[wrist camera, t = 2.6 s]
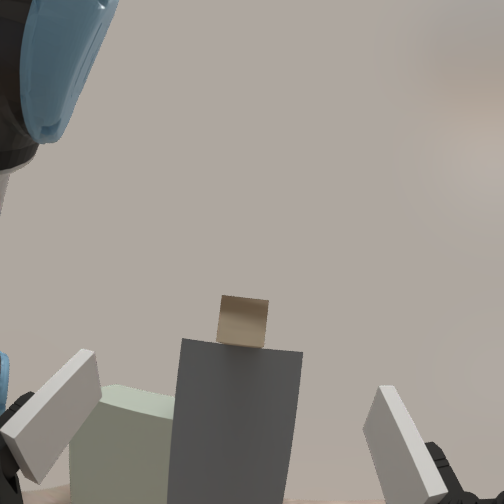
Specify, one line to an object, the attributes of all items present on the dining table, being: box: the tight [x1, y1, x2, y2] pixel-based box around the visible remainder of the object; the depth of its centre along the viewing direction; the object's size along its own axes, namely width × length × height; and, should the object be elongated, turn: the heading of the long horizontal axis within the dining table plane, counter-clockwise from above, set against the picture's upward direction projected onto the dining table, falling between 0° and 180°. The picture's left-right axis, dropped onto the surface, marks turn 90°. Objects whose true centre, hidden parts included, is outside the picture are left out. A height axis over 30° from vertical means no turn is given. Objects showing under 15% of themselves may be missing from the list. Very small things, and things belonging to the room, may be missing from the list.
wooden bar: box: [216, 295, 269, 348], centre depth 38 cm, size 24×4×4 cm, turn 1°
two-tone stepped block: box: [69, 338, 303, 504], centre depth 38 cm, size 16×28×30 cm, turn 91°
